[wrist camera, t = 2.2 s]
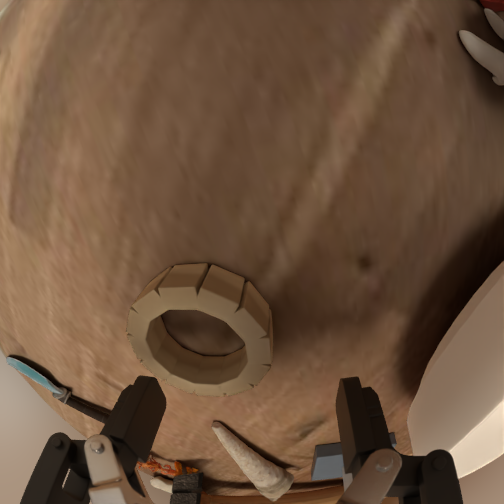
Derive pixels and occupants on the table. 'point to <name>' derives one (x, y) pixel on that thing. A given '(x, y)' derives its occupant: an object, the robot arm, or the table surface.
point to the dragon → (170, 471)
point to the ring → (217, 305)
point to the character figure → (487, 48)
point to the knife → (57, 391)
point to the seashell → (255, 465)
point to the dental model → (493, 4)
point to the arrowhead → (162, 483)
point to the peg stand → (333, 462)
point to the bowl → (465, 385)
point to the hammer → (197, 500)
